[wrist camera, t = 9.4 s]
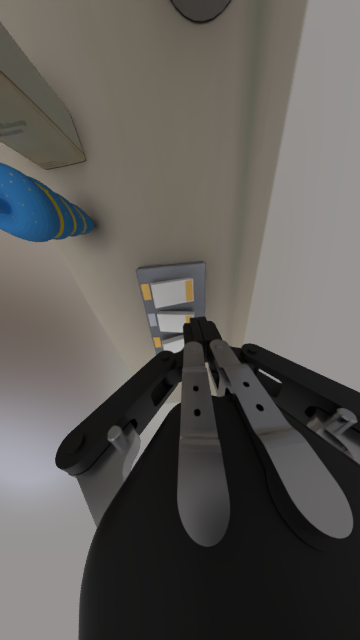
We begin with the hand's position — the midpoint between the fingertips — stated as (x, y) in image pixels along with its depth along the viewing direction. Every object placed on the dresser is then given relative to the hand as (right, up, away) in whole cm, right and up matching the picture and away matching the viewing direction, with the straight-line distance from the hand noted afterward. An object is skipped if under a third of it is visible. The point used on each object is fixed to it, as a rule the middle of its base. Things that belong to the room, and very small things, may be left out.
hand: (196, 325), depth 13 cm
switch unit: (-3, +2, +17) cm, 17 cm away
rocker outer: (-2, -5, +16) cm, 17 cm away
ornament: (-16, +16, +9) cm, 24 cm away
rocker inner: (-3, +5, +10) cm, 11 cm away
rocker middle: (-2, 0, +13) cm, 13 cm away
